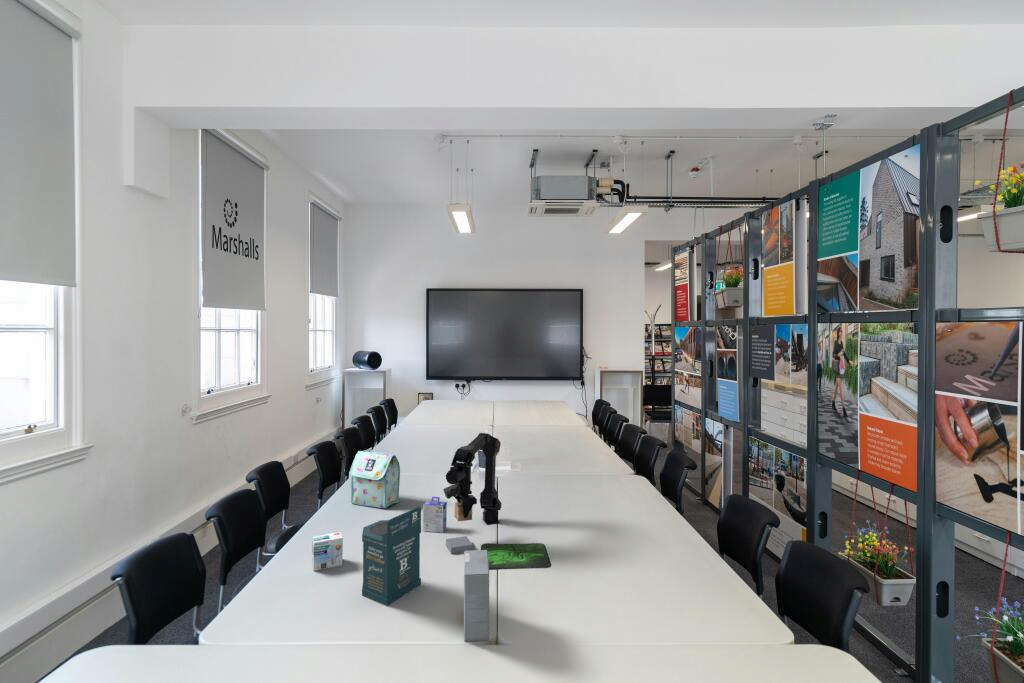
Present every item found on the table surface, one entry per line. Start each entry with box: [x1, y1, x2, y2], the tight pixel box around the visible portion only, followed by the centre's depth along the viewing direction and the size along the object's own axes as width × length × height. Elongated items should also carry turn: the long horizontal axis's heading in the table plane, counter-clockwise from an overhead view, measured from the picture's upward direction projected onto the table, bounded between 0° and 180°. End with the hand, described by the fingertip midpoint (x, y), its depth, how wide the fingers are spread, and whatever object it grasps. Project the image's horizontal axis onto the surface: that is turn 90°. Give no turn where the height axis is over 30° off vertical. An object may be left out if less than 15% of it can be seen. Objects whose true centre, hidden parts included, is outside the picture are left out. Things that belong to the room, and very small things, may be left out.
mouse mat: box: [480, 542, 552, 570], centre depth 196 cm, size 27×22×1 cm
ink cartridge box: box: [422, 496, 448, 533], centre depth 221 cm, size 10×6×14 cm, turn 81°
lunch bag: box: [349, 450, 401, 509], centre depth 255 cm, size 23×16×27 cm
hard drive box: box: [463, 549, 490, 642], centre depth 149 cm, size 16×8×20 cm, turn 5°
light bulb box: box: [311, 531, 344, 572], centre depth 187 cm, size 11×7×11 cm, turn 117°
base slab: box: [445, 535, 474, 555], centre depth 203 cm, size 9×9×3 cm
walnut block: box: [453, 501, 473, 522], centre depth 207 cm, size 6×6×6 cm
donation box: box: [361, 506, 422, 607], centre depth 170 cm, size 16×16×28 cm
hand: (463, 515), depth 207 cm, fingers closed on walnut block, 6 cm apart
